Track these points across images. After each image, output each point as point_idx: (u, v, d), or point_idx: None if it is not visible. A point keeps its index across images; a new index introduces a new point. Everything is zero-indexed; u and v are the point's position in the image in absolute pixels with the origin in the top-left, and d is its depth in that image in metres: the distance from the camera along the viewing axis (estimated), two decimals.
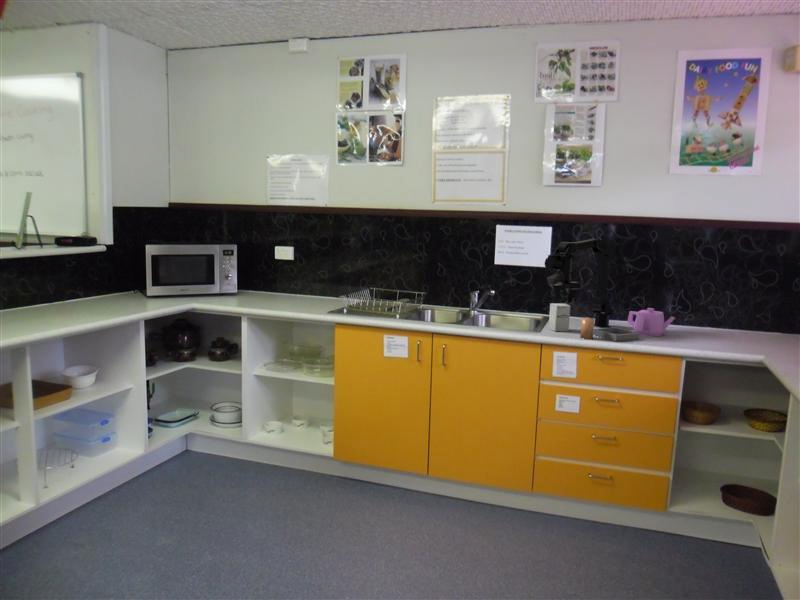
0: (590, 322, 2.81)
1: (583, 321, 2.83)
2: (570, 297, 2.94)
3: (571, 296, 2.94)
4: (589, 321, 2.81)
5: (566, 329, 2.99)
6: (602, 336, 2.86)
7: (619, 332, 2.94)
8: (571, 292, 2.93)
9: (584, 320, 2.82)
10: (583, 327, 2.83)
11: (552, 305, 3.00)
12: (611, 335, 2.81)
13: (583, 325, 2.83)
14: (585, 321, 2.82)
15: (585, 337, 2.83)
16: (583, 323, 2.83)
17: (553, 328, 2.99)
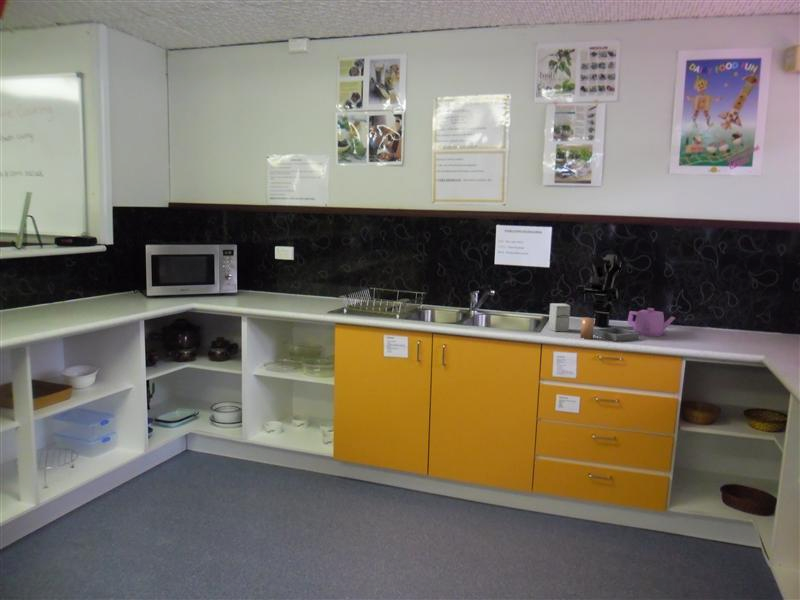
0: (590, 322, 2.81)
1: (583, 321, 2.83)
2: (606, 303, 2.89)
3: (606, 303, 2.90)
4: (589, 321, 2.81)
5: (566, 329, 2.99)
6: (602, 336, 2.86)
7: (619, 332, 2.94)
8: (607, 299, 2.90)
9: (584, 320, 2.82)
10: (583, 327, 2.83)
11: (552, 305, 3.00)
12: (611, 335, 2.81)
13: (583, 325, 2.83)
14: (585, 321, 2.82)
15: (585, 337, 2.83)
16: (583, 323, 2.83)
17: (553, 328, 2.99)
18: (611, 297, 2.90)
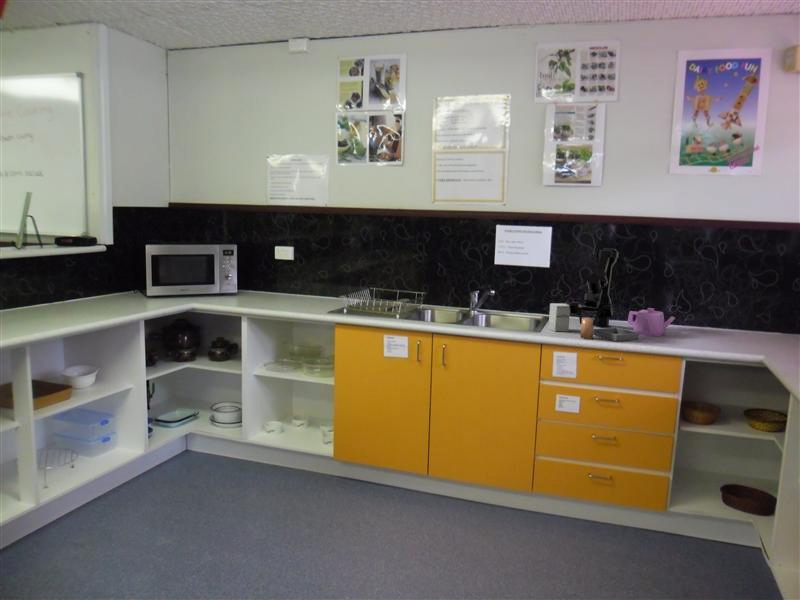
0: (590, 322, 2.81)
1: (583, 321, 2.83)
2: (596, 320, 2.82)
3: (597, 320, 2.83)
4: (589, 321, 2.81)
5: (566, 329, 2.99)
6: (602, 336, 2.86)
7: (619, 332, 2.94)
8: (598, 316, 2.84)
9: (584, 320, 2.82)
10: (583, 327, 2.83)
11: (552, 305, 3.00)
12: (611, 335, 2.81)
13: (583, 325, 2.83)
14: (585, 321, 2.82)
15: (585, 337, 2.83)
16: (583, 323, 2.83)
17: (553, 328, 2.99)
18: (602, 314, 2.84)
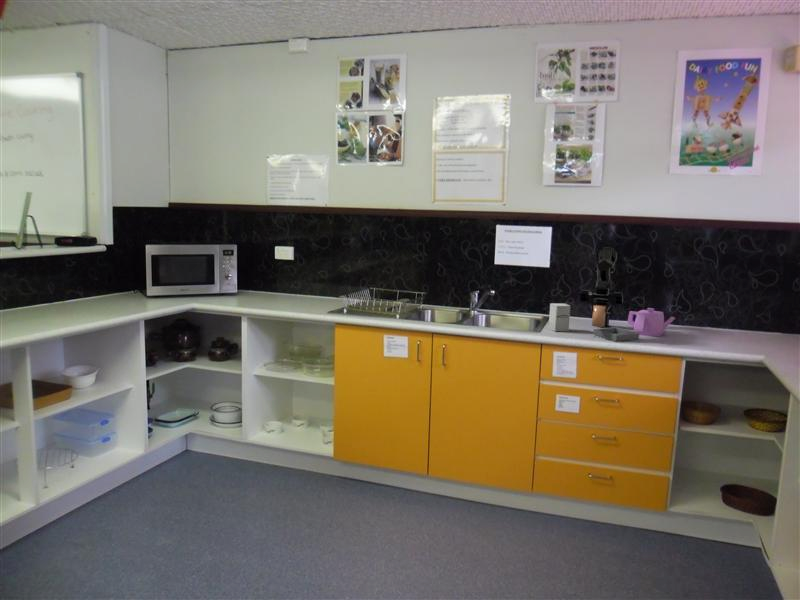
0: (602, 309, 2.81)
1: (595, 309, 2.82)
2: (608, 308, 2.82)
3: (609, 307, 2.83)
4: (602, 308, 2.81)
5: (566, 329, 2.99)
6: (602, 336, 2.86)
7: (619, 332, 2.94)
8: (609, 304, 2.84)
9: (596, 308, 2.81)
10: (595, 315, 2.82)
11: (552, 305, 3.00)
12: (611, 335, 2.81)
13: (595, 313, 2.82)
14: (598, 309, 2.81)
15: (598, 325, 2.82)
16: (595, 311, 2.82)
17: (553, 328, 2.99)
18: (613, 301, 2.84)
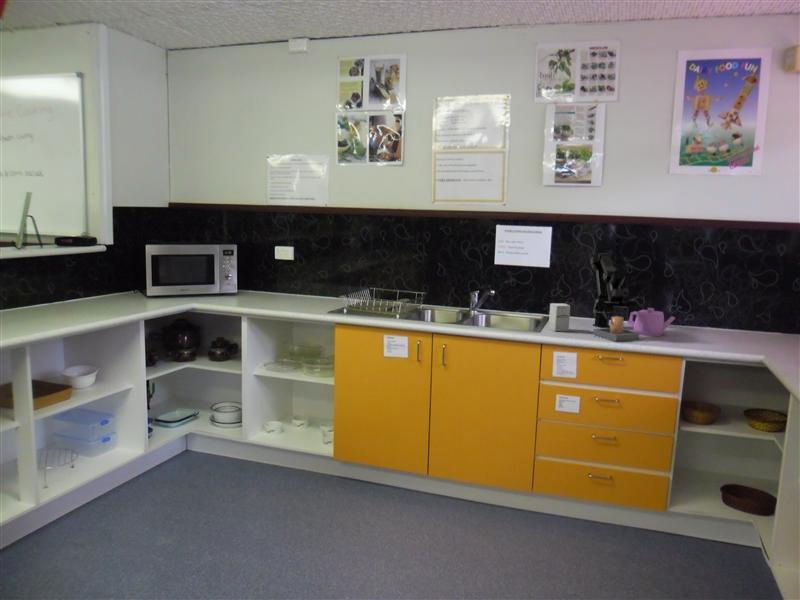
0: (622, 320, 2.84)
1: (615, 320, 2.85)
2: (629, 315, 2.86)
3: (629, 315, 2.87)
4: (621, 319, 2.84)
5: (566, 329, 2.99)
6: (602, 336, 2.86)
7: None
8: None
9: (616, 319, 2.84)
10: (615, 326, 2.85)
11: (552, 305, 3.00)
12: (611, 335, 2.81)
13: (615, 324, 2.85)
14: (618, 320, 2.84)
15: None
16: (615, 322, 2.85)
17: (553, 328, 2.99)
18: (632, 309, 2.89)
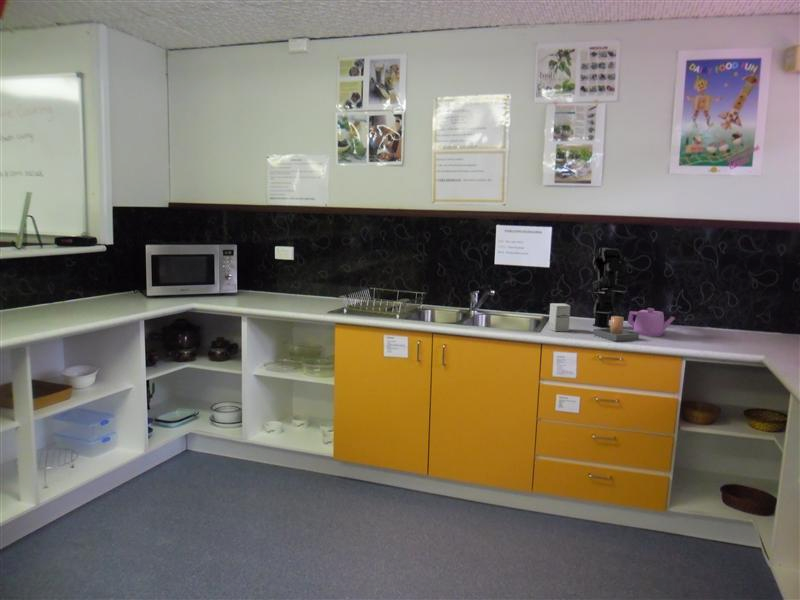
0: (622, 320, 2.84)
1: (615, 320, 2.85)
2: (616, 301, 2.92)
3: (617, 300, 2.92)
4: (621, 319, 2.84)
5: (566, 329, 2.99)
6: (602, 336, 2.86)
7: None
8: (617, 296, 2.92)
9: (616, 319, 2.84)
10: (615, 326, 2.85)
11: (552, 305, 3.00)
12: (611, 335, 2.81)
13: (615, 324, 2.85)
14: (618, 320, 2.84)
15: None
16: (615, 322, 2.85)
17: (553, 328, 2.99)
18: (619, 293, 2.91)
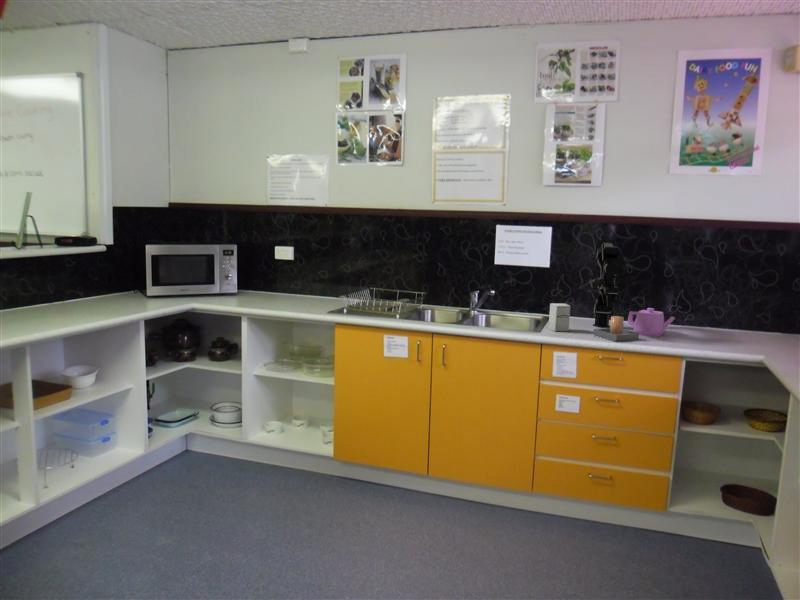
0: (622, 320, 2.84)
1: (615, 320, 2.85)
2: (609, 301, 2.91)
3: (611, 301, 2.91)
4: (621, 319, 2.84)
5: (566, 329, 2.99)
6: (602, 336, 2.86)
7: None
8: (610, 296, 2.91)
9: (616, 319, 2.84)
10: (615, 326, 2.85)
11: (552, 305, 3.00)
12: (611, 335, 2.81)
13: (615, 324, 2.85)
14: (618, 320, 2.84)
15: None
16: (615, 322, 2.85)
17: (553, 328, 2.99)
18: None
